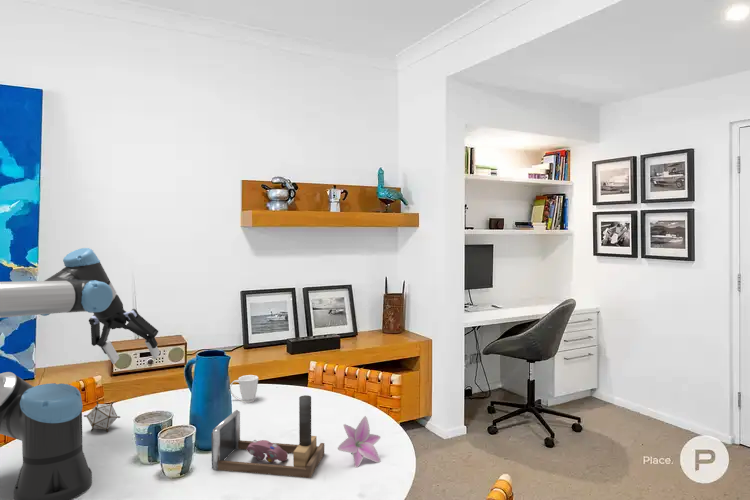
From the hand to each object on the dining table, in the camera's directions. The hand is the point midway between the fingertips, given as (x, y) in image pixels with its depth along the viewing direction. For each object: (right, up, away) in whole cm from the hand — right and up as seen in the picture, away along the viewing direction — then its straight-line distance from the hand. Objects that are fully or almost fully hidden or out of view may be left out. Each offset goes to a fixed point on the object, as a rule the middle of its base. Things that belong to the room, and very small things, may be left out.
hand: (136, 358), depth 151 cm
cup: (+25, -20, +26) cm, 42 cm away
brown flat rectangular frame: (+44, -22, -20) cm, 53 cm away
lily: (+67, -23, -18) cm, 73 cm away
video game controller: (+43, -23, -19) cm, 52 cm away
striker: (+53, -23, -21) cm, 61 cm away
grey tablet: (+31, -22, -18) cm, 42 cm away
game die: (-10, -21, 0) cm, 24 cm away
